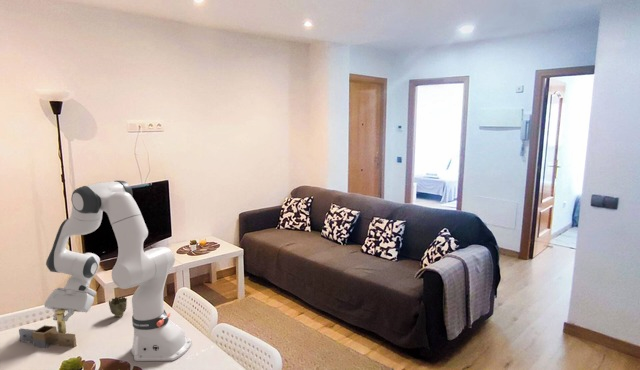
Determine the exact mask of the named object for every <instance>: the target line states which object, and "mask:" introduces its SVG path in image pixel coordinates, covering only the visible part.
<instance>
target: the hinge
mask: <svg viewBox="0 0 640 370" xmlns="http://www.w3.org/2000/svg"><path fill="white" fill-rule="evenodd" d="M18 333H19V341H20V342H25V343H26V342H27V343H33V347H37V348H45V349H46V348H48V347H49V346H51V345H53V346H60V347H61V346H62V347H70V348H75V347H77V340H76V339H77V338H76V334H75V333H67V332H66V333H58V329H57V326H53V325H46V324H45V325H42V326H40V327H39V328H37V329H30V328H20V329H19V328H18Z"/></svg>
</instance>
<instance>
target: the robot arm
mask: <svg viewBox="0 0 640 370" xmlns="http://www.w3.org/2000/svg"><path fill="white" fill-rule="evenodd" d="M71 204H72V207H71V214H70V217H69V218H67V219H64V220H63V222H62V223H61V224H60V225H59V227H58V231H57V232H56V234H55V235H56V236H55V239H54V241H53V244H52V247H51V250H50V252H49V255H48V257H47V259H46V263H45V265H46V267H47V269H48V271H49V272H51V273H57V274H58V273H59V274H60V273H61V274H64V275H65V274H66V275H69V276H70V277H69V278H68V280H67V281H66V284H65V285H64V287H57V288H56V289H54V290H52V292H51V294H49V296H48V298H47V299H46V300H45V302H44V304H43V305H44V307H45V308H46V309H49V310H53V311H54V313H53V314H54V315H53V317H52V320H53V321H56V322H57V317H56V314H55V311H56V310H58V309H65V312H67V313H66V314H64V315H65V316H63V317H62V321H65V322H68V320H69V318H71V317H72V316H73V315H74V314H75V312H78V313H88V312H89V311H90V309H91V308H92V306H93V304H94V301H95V297H96V296H97V291H96V290H94V289H92V288H91V287H90V285H91V281H92V280H93V279H94V277H95V276H96V274H97V271H98V269H99V266H100V263H101V258H100V257H99V256H98V255H97V254H96V253H94V252H93V253H92V252H85V253H81V252H77V251H71V250H69V249H67V245H68V242H69V238H70V237H73V236H83V235H84V236H85V235H88V234H91V233H93V232H95V231H96V230H97V229H99V227H100V226H101V225H102V224H101V223H102V220H103V212H105V213H106V215H107V217H108V220H109V223H110V225H111V227H112V230H113V233H114V236H115V239H116V242H117V247H118V248H117V250H118V253H117V259H116V262H115V265H114V266H113V267H112V270H111V279H112V280H111V281H112V282H113V283H114V285H115V286H116V287H117V288H119V289H122V290H124V289H125V290H126V289H132V288H135V287H136V288H137V289H135V291H134V292H133V295H132V298H131V307H132V308H131V309H132V317H131V321H132V322H131V323H132V327H133V338H132V339H133V341H132V347H131V350H130V351H131V354H132V355H133V360H134V361H135V362H150V361H151V362H154V361H155V362H156V361H157V362H161V361H163V362H165V361H166V362H167V361H175V360H178V359H179V358H180V357H182V356H183V355H184V354H185V353H186V352H187V351H188V350H189V349H190V348H191V346H192V344H193V342H192V338H189V337H186V335H185V331H184V329H183V328H182V327H180V326H179V325H177V324H176V323H174V322H173V321H172V320H171V319H170V317H171V312H169V313H168V314H167V312H166V310H165V306H164V305H165V304H164V289H165V284H166V281H167V277H168V276H169V274H170V271H171V269H172V268H173V266H174V265H175V262H176V258H175V254H174V253H173V251H172V250H171V249H170V248H169V247H167V246H159V247H153V248H150V249H147V250H145V251H144V244H145V243H144V242H145V240H146V239H147V238H148V236H149V229H148V227H147V224H146V223H145V220H144V217H143V214H142V212H141V210H140V208H139V206H138V204H137V202H136V200H135V199H134V197H133V188H132V187H131V185H130V184H129V182H128V181H124V180H113V181H105V182H96V183H92V184H88V185H83V186H80V187H78V188H76V189H74V190H73V192H72V194H71Z"/></svg>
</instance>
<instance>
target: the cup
mask: <svg viewBox="0 0 640 370" xmlns="http://www.w3.org/2000/svg"><path fill="white" fill-rule="evenodd" d="M127 300H128V298H127V297H126V296H122V297H121V296H119V297H116V296H115V297H114V298H111V300H109V301H108V306H109V310H110V312H111V313H112V314H113V315H114V317H115V318H116V319H117V318H122V317H123V316H124V314H125V312H126V310H127V306H128V305H127V303H128V302H127Z"/></svg>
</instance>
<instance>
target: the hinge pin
mask: <svg viewBox="0 0 640 370" xmlns="http://www.w3.org/2000/svg"><path fill="white" fill-rule="evenodd" d="M54 311H55V310H54ZM65 313H66V311H65V309H58V310H56V311H55V314H56V317H57V321H56V323H57V332H58V333H67V325H66V321H62V317H63V316H65V315H66V314H65ZM55 314H54V315H55Z"/></svg>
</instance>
